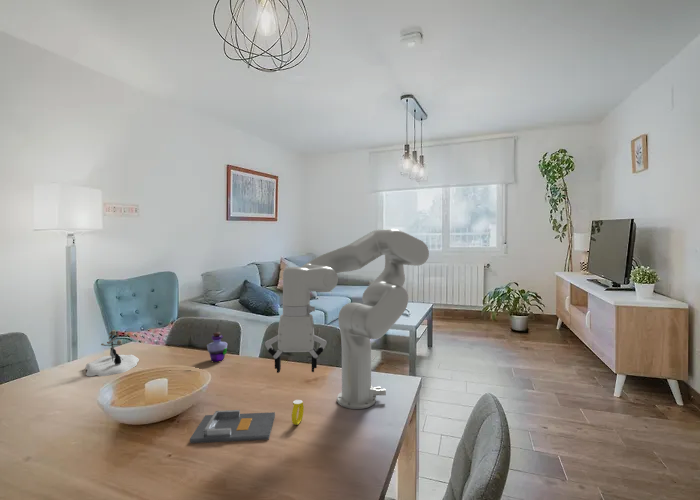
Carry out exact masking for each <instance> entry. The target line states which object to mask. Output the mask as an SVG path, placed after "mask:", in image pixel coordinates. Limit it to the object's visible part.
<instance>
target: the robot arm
mask: <svg viewBox="0 0 700 500" xmlns="http://www.w3.org/2000/svg"><path fill="white" fill-rule="evenodd" d="M429 255H430V251H429V248H428V245H427V244H426V243H425V242H424V241H423V240H421V239H419V238H417V237H415V236H413V235H411V234H409V233H406V232H404V231H402V230H400V229H395V228H388V229H387V228H385V229H374V230H372V231H370V232H369V233H367V234H365V235H363V236H362V237H359V238H358V239H356V240H354V241H353V242H351V243H348V245H345V246H343V247H340V248H337V249H335V250H332V251H329V252H326V253H323V254H322V255H318V256H317V257H315V258H313V259H311V260H310V261H308V262H306V263H305V264H303V265H302V266H290V267H286V268H284V269H283V272H282V314H281V315H280V316H279V322H278V329H277V330H278V331H277V333H278V334H277V335H275V336H273V337H272V338H270V339H268V340H266V341H265V342H264V346H265V348H266V349H267V351H268V353H269V354H270V355H271V356H272V357H273V359H274V369H275V370H276V374H279V373H280V372H281V369H282V368H281V366H282V365H281V364H282V363H281V361H282V356H281V354H282V353H307V352H308V353H309V354H310V355H311V373H315V369H317V368H318V367H317V365H318V364H317V362H318V357H319V356H320V355H321V353H323V352H324V349H325V348H326V347H327V340H326V339H324V338H322V337H320V336H318V335H315V325H314V324H315V323H314V318H313V314H311V313H313V312H315V310H316V307H315V306H312V305H311V303H310V302H311V301H310V300H311V292H312V293H313V292H316V293H317V292H318V293H327V292H331V291H332V290H334V289H335V288H336V287H337V285H338V282H339V276H338V274H339V273H340V274H341V273H344V272H345V273H346V272H347V273H348V272H353V271H357V270H361V269H362V268H365V266H367V265H368V264H370V263H372V262H374V261H375V260H377V259H378V258H379V257H381V256H384V269H383V270H382V272H381V273H380V274H379V275H378V276H377V277H376V278H375V279H374V280H373V281H372V282H371V283H370V284H369V285H368V286H367V287H366V288H365V290H364V292H363V293H362V296H361V297H362V299H361V300H362V303H359V302H349V303H346V304H344V305H343V306H342V307H341V308H340V311H339V313H338V319H337V320H338V321H337V322H338V325H339V326H338V328H339V332H340V339H341V391H340V392H339V393H338V394H337V397H336V402H337V403H338V405H340V406H341V407H343V408H346V409H351V410H363V409H366V408H369V407H372V406H373V405H375V403H376V401H377V396H386V395H387V394H386V393H387V391H386V388H382V387H381V386H373V385H372V343H371V340H377V339H378V340H379V339H380V338H382V337H383V336H385V334H387V333H388V332H389V330H390V329H391V328H392V327H393V325H394V324H396V322H398V320H399V319H400V318H401V317H402V316H403V314H404V313H405V311H406V309H407V307H408V303H409V295H408V292H407V290H406V289H405V287H403V286H404V284H405V282H406V276H405V269H404V266H406V265H407V266H413V267H414V266H415V267H416V266H422V265H424V264H425V263H426V262H428V261H427V260H428V259H429V257H430V256H429ZM315 342H316V343H319V344H320V345H319V347H318V348H317V349H316V348H315V347H314V346H315ZM276 343H277V349H275V348H274V347H273V346H272V345H273V344H276Z"/></svg>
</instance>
